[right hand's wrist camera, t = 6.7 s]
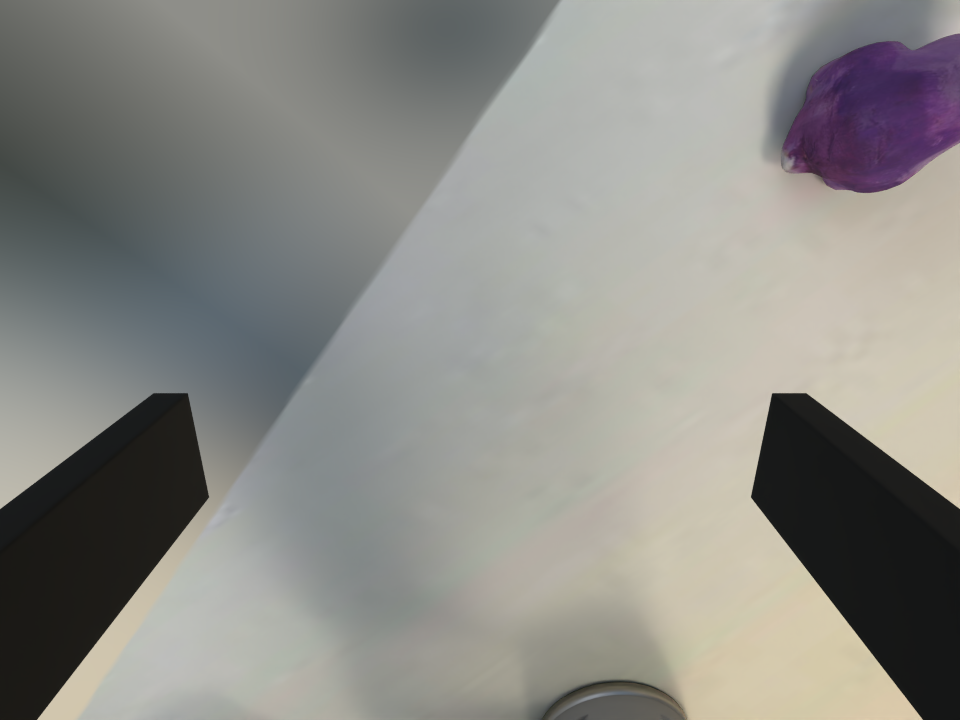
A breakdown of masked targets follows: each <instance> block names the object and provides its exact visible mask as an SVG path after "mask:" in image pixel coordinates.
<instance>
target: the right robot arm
mask: <svg viewBox="0 0 960 720" xmlns="http://www.w3.org/2000/svg"><path fill="white" fill-rule="evenodd" d="M208 498H209V495H208V490H207V485H206V480H205V475H204V471H203V466H202V461H201V456H200V451H199V446H198V441H197V436H196V431H195V426H194V422H193V417H192V412H191V407H190V402H189V397H188V394H187V393H154V394H152V395H151V396H150V397H148V398H147V399H146V400H144V401H143V402H142V403H140V404H139V405H138V406H136V407H135V408H134V409H132V410H131V411H130V412H128V413H127V414H126V415H124V416H123V417H122V418H120V419H119V420H118V421H116V422H115V423H114V424H112V425H111V426H110V427H109V428H107V429H106V430H104V431H103V432H102V433H101V434H99V435H98V436H96V437H95V438H94V439H93V440H91V441H90V442H89V443H87V444H86V445H85V446H83V447H82V448H81V449H79V450H78V451H77V452H75V453H74V454H73V455H71V456H70V457H69V458H67V459H66V460H65V461H63V462H62V463H61V464H59V465H58V466H57V467H55V468H54V469H53V470H51V471H50V472H49V473H47V474H46V475H45V476H43V477H42V478H41V479H40V480H38V481H37V482H36V483H34V484H33V485H32V486H30V487H29V488H28V489H26V490H25V491H24V492H22V493H21V494H20V495H18V496H17V497H16V498H14V499H13V500H12V501H10V502H9V503H8V504H6V505H5V506H4V507H2V508H1V509H0V720H37V719H38V718H39V716H40V715H41V714H42V713H43V711H44V710H45V709H46V707H47V706H48V705H49V703H50V702H51V701H52V700H53V698H54V697H55V696H56V694H57V693H58V692H59V691H60V689H61V688H62V687H63V685H64V684H65V683H66V681H67V680H68V679H69V678H70V676H71V675H72V674H73V672H74V671H75V670H76V669H77V667H78V666H79V665H80V663H81V662H82V661H83V659H84V658H85V657H86V656H87V654H88V653H89V652H90V650H91V649H92V648H93V647H94V645H95V644H96V643H97V641H98V640H99V639H100V638H101V636H102V635H103V634H104V632H105V631H106V630H107V628H108V627H109V626H110V625H111V623H112V622H113V621H114V619H115V618H116V617H117V616H118V614H119V613H120V612H121V610H122V609H123V608H124V607H125V605H126V604H127V603H128V601H129V600H130V599H131V597H132V596H133V595H134V594H135V592H136V591H137V590H138V588H139V587H140V586H141V585H142V583H143V582H144V581H145V579H146V578H147V577H148V576H149V574H150V573H151V572H152V570H153V569H154V568H155V566H156V565H157V564H158V563H159V561H160V560H161V559H162V557H163V556H164V555H165V554H166V552H167V551H168V550H169V548H170V547H171V546H172V544H173V543H174V542H175V541H176V539H177V538H178V537H179V535H180V534H181V533H182V531H183V530H184V529H185V528H186V526H187V525H188V524H189V523H190V521H191V520H192V519H193V517H194V516H195V515H196V513H197V512H198V511H199V510H200V508H201V507H202V506H203V504H204V503H205V502H206V501H207V499H208ZM751 498H752V499H753V501H754V502H755V503H756V504H757V506H758V507H759V508H760V510H761V511H762V512H763V513H764V515H765V516H766V517H767V519H768V520H769V521H770V523H771V524H772V525H773V526H774V528H775V529H776V530H777V532H778V533H779V534H780V535H781V537H782V538H783V539H784V541H785V542H786V543H787V544H788V546H789V547H790V548H791V550H792V551H793V552H794V554H795V555H796V556H797V557H798V559H799V560H800V561H801V563H802V564H803V565H804V566H805V568H806V569H807V570H808V572H809V573H810V574H811V576H812V577H813V578H814V579H815V581H816V582H817V583H818V585H819V586H820V587H821V588H822V590H823V591H824V592H825V594H826V595H827V596H828V597H829V599H830V600H831V601H832V603H833V604H834V605H835V607H836V608H837V609H838V610H839V612H840V613H841V614H842V616H843V617H844V618H845V619H846V621H847V622H848V623H849V625H850V626H851V627H852V629H853V630H854V631H855V632H856V634H857V635H858V636H859V638H860V639H861V640H862V641H863V643H864V644H865V645H866V647H867V648H868V649H869V650H870V652H871V653H872V654H873V656H874V657H875V658H876V660H877V661H878V662H879V663H880V665H881V666H882V667H883V669H884V670H885V671H886V672H887V674H888V675H889V676H890V678H891V679H892V680H893V681H894V683H895V684H896V685H897V687H898V688H899V689H900V691H901V692H902V693H903V694H904V696H905V697H906V698H907V700H908V701H909V702H910V703H911V705H912V706H913V707H914V709H915V710H916V711H917V713H918V714H919V715H920V716H921V718H922V719H923V720H960V509H959V508H958V507H956V506H955V505H954V504H952V503H951V502H950V501H948V500H947V499H946V498H944V497H943V496H942V495H940V494H939V493H938V492H936V491H935V490H934V489H932V488H931V487H930V486H928V485H927V484H926V483H924V482H923V481H922V480H920V479H919V478H918V477H917V476H915V475H914V474H913V473H911V472H910V471H909V470H907V469H906V468H905V467H903V466H902V465H901V464H899V463H898V462H897V461H895V460H894V459H893V458H891V457H890V456H889V455H887V454H886V453H885V452H883V451H882V450H881V449H879V448H878V447H877V446H875V445H874V444H873V443H871V442H870V441H869V440H867V439H866V438H865V437H864V436H862V435H861V434H860V433H858V432H857V431H856V430H854V429H853V428H852V427H850V426H849V425H848V424H846V423H845V422H844V421H842V420H841V419H840V418H838V417H837V416H836V415H834V414H833V413H832V412H830V411H829V410H828V409H826V408H825V407H824V406H822V405H821V404H820V403H818V402H817V401H816V400H814V399H813V398H812V397H811V396H809V395H808V394H807V393H772V397H771V402H770V407H769V412H768V417H767V422H766V426H765V431H764V436H763V441H762V446H761V451H760V456H759V461H758V465H757V470H756V475H755V480H754V485H753V490H752V495H751ZM542 720H687V719H686V716H685V714H684V712H683V710H682V709H681V707H680V706H679V705H678V704H677V703H676V702H675V701H674V700H673V699H672V698H670V697H669V696H668V695H666V694H664V693H663V692H661V691H659V690H657V689H654V688H651V687H649V686H645V685H641V684H636V683H628V682H610V683H602V684H596V685H592V686H588V687H585V688H582V689H579V690H577V691H575V692H572V693H571V694H569V695H567V696H565V697H564V698H562V699H561V700H559V701H558V702H557V703H555V704H554V705H553V706H552V707H551V708H550V709H549V710H548V711H547V713H546V714H545V715H544V717H543V719H542Z"/></svg>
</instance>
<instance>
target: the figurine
mask: <svg viewBox="0 0 960 720" xmlns="http://www.w3.org/2000/svg"><path fill="white" fill-rule="evenodd" d="M959 143H960V34H954V35H950V36H947V37H944V38H941V39H938V40H936V41H934V42H931V43H929V44H927V45H925V46H923V47H921V48H919V49H917V50H910V49H908V48H907V47H906V46H904V45H903V44H902V43H900V42H896V41H886V42H878V43H874V44H870V45H867V46H864V47H861V48H858V49H856V50H854V51H851V52H849V53H847V54H846V55H844V56H842V57H840V58H837V59H835V60H833V61H831V62H829V63H828V64H826V65H824V66H822V67H821V68H820V69H819V70H818V71H817V72H816V73H815V74H814V75H813V76H812V78H811V81H810V83H809V86H808V89H807V92H806V100H805V103H804V105H803V108H802V109H801V110H800V112H799V113H798V115H797V117H796V118H795V120H794V122H793V125H792V127H791V129H790V131H789V134H788V136H787V138H786V140H785V142H784V145H783V148H782V153H781V164H782V168H783V170H784V171H785V172H787V173H814V174H817V175H819V176H821V177H822V178H823V180H824V182H825V183H826V185H827V186H829V187H831V188H833V189H835V190H852V191H854V192H860V193H872V192H879V191H883V190H887V189H890V188H892V187H895V186H898V185H900V184H902V183H903V182H905V181H906V180H908V179H909V178H910V177H912V176H913V175H914V174H916V173H917V172H918V171H919V170H921V169H922V168H923V167H924V166H925V165H926V164H928V163H929V162H930V161H932V160H933V159H935V158H936V157H937V156H939V155H940V154H942V153H944V152H945V151H947V150H948V149H950V148H952V147H953V146H955V145H957V144H959Z"/></svg>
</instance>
